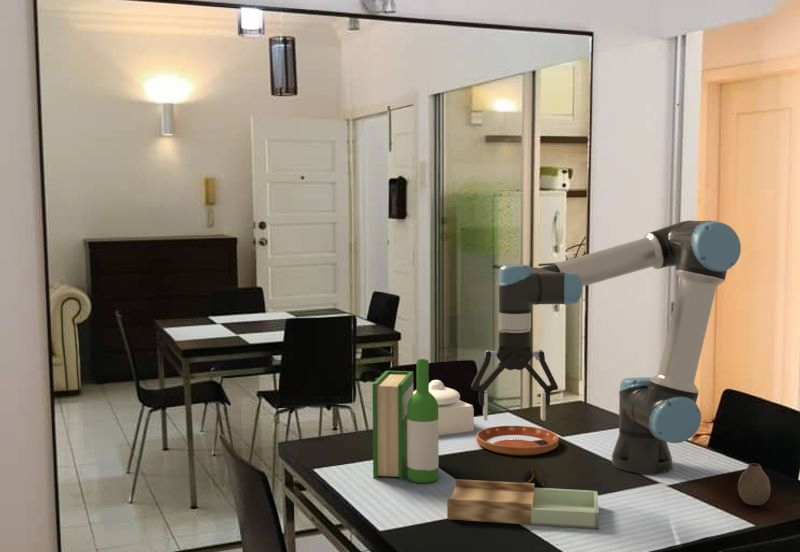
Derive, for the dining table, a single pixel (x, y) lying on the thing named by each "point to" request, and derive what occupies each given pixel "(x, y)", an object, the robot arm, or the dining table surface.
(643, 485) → the dining table surface
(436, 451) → the wine bottle
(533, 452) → the saucer
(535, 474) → the tape measure
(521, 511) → the wooden tray
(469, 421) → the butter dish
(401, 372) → the hardback book
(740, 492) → the vase
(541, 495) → the tray
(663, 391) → the robot arm
